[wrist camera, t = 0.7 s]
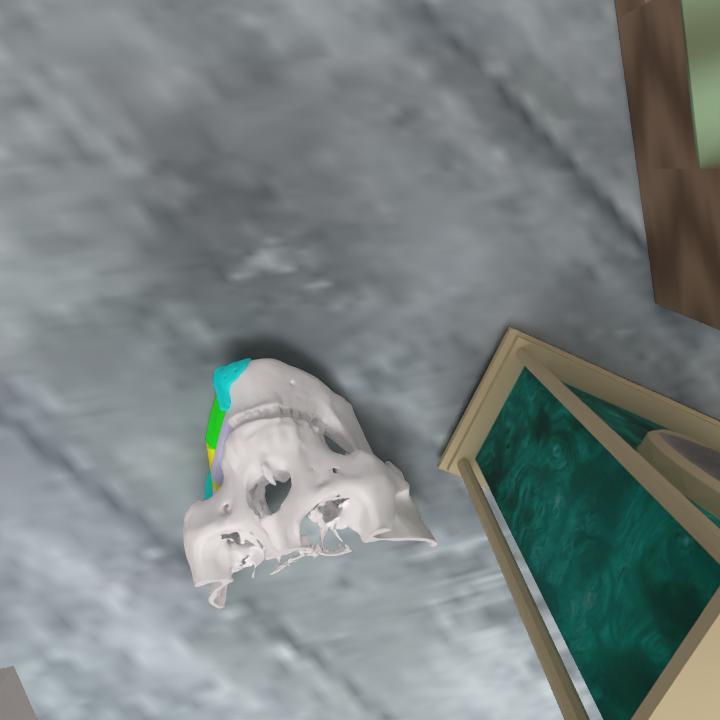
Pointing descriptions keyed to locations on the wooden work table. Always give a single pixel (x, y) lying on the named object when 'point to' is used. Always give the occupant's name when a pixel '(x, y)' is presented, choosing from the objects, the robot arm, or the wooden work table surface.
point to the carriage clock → (602, 526)
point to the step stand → (677, 145)
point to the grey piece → (287, 475)
